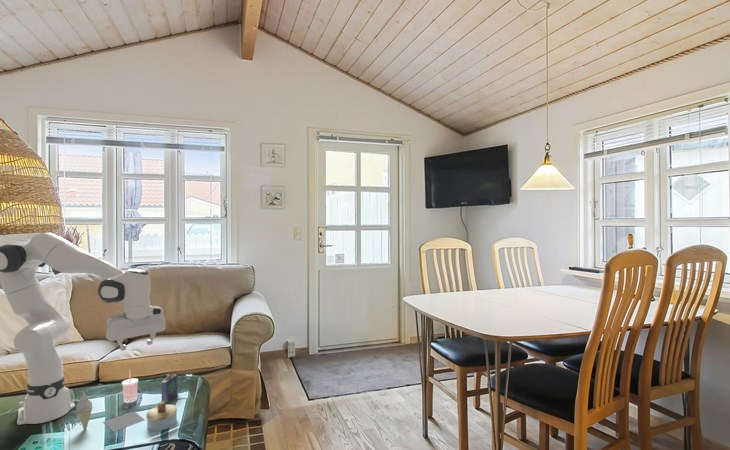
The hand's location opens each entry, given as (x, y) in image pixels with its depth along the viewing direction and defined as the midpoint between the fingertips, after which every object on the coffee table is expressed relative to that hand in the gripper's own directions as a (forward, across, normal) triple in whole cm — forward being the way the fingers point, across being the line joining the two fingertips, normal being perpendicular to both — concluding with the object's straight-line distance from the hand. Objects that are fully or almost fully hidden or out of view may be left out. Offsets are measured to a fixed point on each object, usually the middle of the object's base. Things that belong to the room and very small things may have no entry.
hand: (136, 347), depth 154 cm
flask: (+30, +18, +12) cm, 37 cm away
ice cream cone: (+31, -14, +10) cm, 35 cm away
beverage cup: (+31, +6, +22) cm, 38 cm away
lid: (+25, +6, -9) cm, 27 cm away
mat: (+30, -2, +5) cm, 31 cm away
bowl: (+30, +6, -9) cm, 31 cm away
